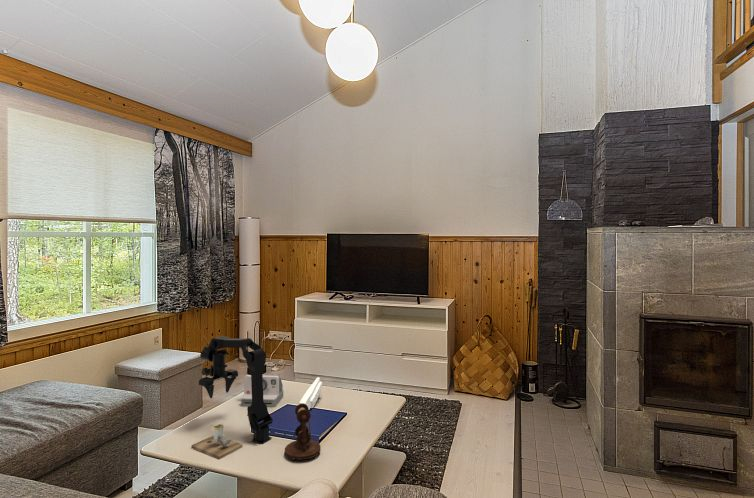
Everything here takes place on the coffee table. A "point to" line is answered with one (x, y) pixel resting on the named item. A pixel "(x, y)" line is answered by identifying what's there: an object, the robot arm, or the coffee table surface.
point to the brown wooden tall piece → (302, 437)
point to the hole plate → (217, 447)
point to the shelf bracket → (312, 394)
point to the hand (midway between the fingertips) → (219, 395)
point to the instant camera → (264, 390)
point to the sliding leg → (218, 433)
